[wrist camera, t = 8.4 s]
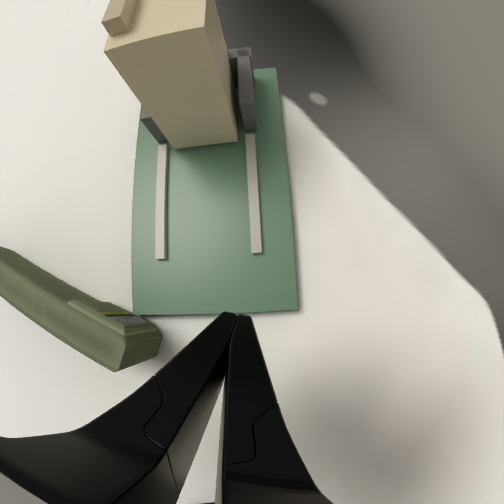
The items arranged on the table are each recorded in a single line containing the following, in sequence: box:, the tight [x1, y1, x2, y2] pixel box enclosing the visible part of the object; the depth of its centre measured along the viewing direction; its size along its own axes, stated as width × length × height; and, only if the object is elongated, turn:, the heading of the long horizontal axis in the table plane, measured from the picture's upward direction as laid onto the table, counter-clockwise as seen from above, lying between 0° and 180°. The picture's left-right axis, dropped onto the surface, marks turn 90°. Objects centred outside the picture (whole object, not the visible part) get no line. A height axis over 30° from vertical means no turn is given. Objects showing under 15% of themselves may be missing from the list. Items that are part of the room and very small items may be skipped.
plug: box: [101, 0, 238, 149], centre depth 17 cm, size 5×5×13 cm
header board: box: [132, 41, 298, 315], centre depth 21 cm, size 20×12×6 cm, turn 3°
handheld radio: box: [0, 247, 162, 372], centre depth 21 cm, size 7×3×25 cm
